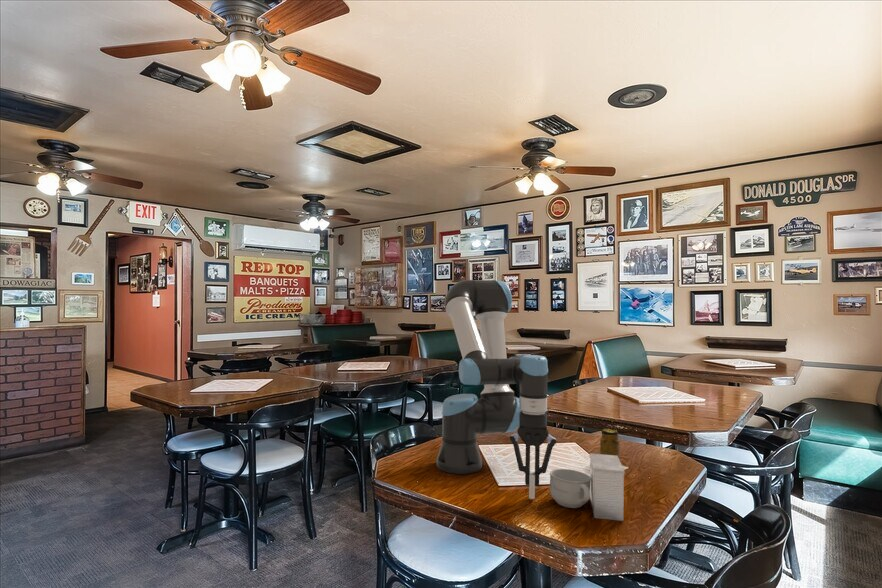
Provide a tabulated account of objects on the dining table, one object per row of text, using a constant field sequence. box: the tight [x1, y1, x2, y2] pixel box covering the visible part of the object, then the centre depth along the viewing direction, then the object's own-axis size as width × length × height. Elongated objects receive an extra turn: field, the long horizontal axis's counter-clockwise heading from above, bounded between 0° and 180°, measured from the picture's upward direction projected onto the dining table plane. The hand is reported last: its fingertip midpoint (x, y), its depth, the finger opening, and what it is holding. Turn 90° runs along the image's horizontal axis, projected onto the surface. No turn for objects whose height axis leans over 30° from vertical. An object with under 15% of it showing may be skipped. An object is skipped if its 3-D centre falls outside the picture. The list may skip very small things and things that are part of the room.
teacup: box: [549, 468, 591, 509], centre depth 125 cm, size 14×11×8 cm
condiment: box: [599, 428, 630, 471], centre depth 156 cm, size 7×8×12 cm
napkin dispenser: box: [589, 452, 626, 522], centre depth 123 cm, size 8×12×13 cm, turn 167°
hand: (531, 496), depth 128 cm, fingers closed
